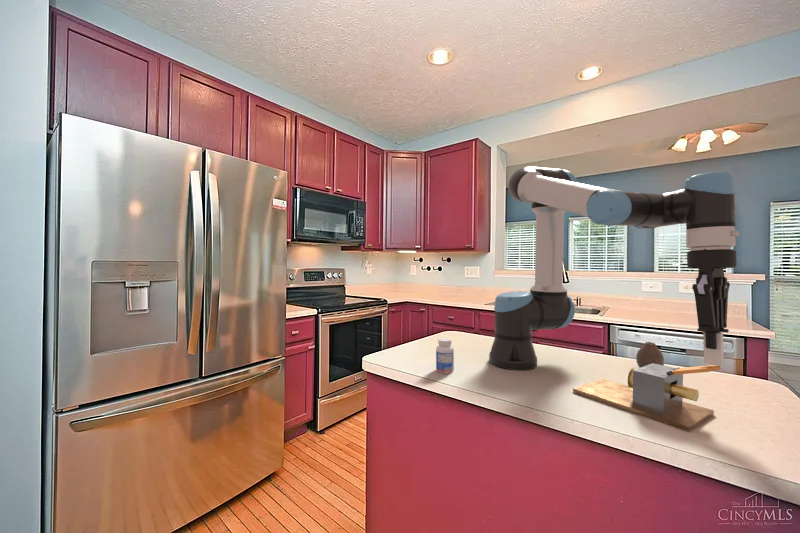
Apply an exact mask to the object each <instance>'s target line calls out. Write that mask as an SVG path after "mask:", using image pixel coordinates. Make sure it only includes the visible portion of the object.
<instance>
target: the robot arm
mask: <svg viewBox="0 0 800 533" xmlns="http://www.w3.org/2000/svg"><path fill="white" fill-rule="evenodd" d="M684 181H685V182H684V186H683V188H682V189H678V190H674V191H671V192H670V191H668V192H663V193H652V192H651V193H650V192H649V193H648V192H638V191H637V192H634V191H626V190H625V191H623V190H617V189H612V188H606V187H601V186H595V185H590V184H587V183H586V184H585V183H580V182H578V180H577V178H576V177H575V175H574V174H573V173H572V172H571V171H569V170H567V169H562V168H559V167H558V168H552V167H539V166H524V167H520V168H519V169H517V170H515V171H514V172H513V173H512V175H511V176H510V177H509V179H508V184H507V189H508V192H509V195H510V196H511V197H512V198H513V199H514V200H515V201H518V202H521V203H526V204H531V211H532V212H533V213H534V214H535V220H536V221H535V256H534V257H535V258H534V260H535V261H534V263H535V265H534V266H535V267H534V269H535V270H534V271H535V272H534V285H533V286H532V287H530V289H529V291H525V290H519V291H507V292H502V293H499V294H498V295H497V296H496V297H495V301H494V308H493V309H494V340H493V343H492V345H491V348H490V351H489V354H488V356H489V357H488V362H489V363H490V364H492V365H493V366H495V367H498V368H502V369H506V370H516V371H519V370H520V371H524V370H525V371H527V370H532V369H535V368H537V367H538V357H537V355H536V351H535V347H534V344H533V341H532V340H533V338H532V336H533V331H541V330H557V329H563V328H565V327H567V326H569V324H570V323H571V322H572V321H573V320H574V317H575V313H576V308H575V306H576V305H575V303H574V302H573V299H572V297H571V296H569V295H568V289H567V288H565V287H564V285H563V274H564V272H563V265H564V223H565V219H564V218H565V216H564V215H565V213H566V212H569V213H572V214H576V215H579V216H582V217H586V218H589V219H590V221H591V222H592V223H594V224H597V225H601V226H608V227H609V226H611V227H612V226H630V227H631V226H632V227H635V228H636V229H642V230H643V229H651V230H652V229H656V228H659V227H667V226H668V227H669V226H675V225H681V224H682V225H684V224H685V226H686V227H685V228H686V230H685V234H686V235H685V237H686V240H685V241H686V248H687V249H689V251H687V253H686V264H687V265H686V266H687V268H688V269H698V272H697V273H698V274H697V277H696V278H695V283H692V285H691V286H692V290H693V293H694V299H695V307H696V317H697V324H698V328H697V332H699V333H701V332H702V337H703V340H702V342H703V363H704V364H707V365H718V366H720V367H723V366H724V365H725V360H724V359H725V358H724V356H725V355H724V333H729V331H730V330H729V328H727V326H728V325H727V323H728V305H729V304H728V301H729V291H730V285H731V284H730V282H729V281H728V278H727V277H725V272H724V269H735V268H736V267H737V265H738V264H737V261H738V260H737V250H735V249H732V247H735V246H736V240H737V239H736V237H738V236H739V235H740V232H739V230H736V227H735V226H736V221H735V202H736V201H735V195H736V193H737V192H735V185H734V184H735V183H734V176H733V175H732V173H730V172H727V171H711V172H710V171H709V172H703V173H698V174H695V175H694V174H693V175H692V176H690V177H689V176H688V177H687V178H686V179H685V180H684Z"/></svg>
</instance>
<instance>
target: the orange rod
mask: <svg viewBox="0 0 800 533" xmlns="http://www.w3.org/2000/svg"><path fill="white" fill-rule="evenodd" d="M678 368H679V369H677V370H675V371H672V372H673V375H677V374H683V375H687V374H700V373H710V372H713V371H714V372H716V371H720V370H722V368H721V366H718V365H712V364H707V365H699V366H690V367H689V366H687V367H678Z"/></svg>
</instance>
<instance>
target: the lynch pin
mask: <svg viewBox="0 0 800 533" xmlns="http://www.w3.org/2000/svg"><path fill="white" fill-rule="evenodd" d="M635 369H638V368H636V367H632V368H630V371H629V372H628V375H627V386H629V388H630V389H632V390H633V370H635ZM670 394H671V395H675V396H679V397H682V398H683V399H687V400H689V401H693V402H697V401H699V394H700V392H699V389H695V388H692V387H688V386H684V385H683V386H680V385H676V384H672V383H670Z"/></svg>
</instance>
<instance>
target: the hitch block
mask: <svg viewBox="0 0 800 533" xmlns="http://www.w3.org/2000/svg"><path fill="white" fill-rule="evenodd" d="M679 368H680V367H673V366H667V365H664V366H663V365H659V364H654V363H652V364H649V365H646V366H644V367H641V368H639V367H638V368H637V369H635V370H633V390H632V389H630V388H629V386H628V384H627V385H626V384H623V383H618V382H616V381H612V380H609V379H606V378H601V377H600V378H599V379H596V380H594V381H591V382H587V383H585V384H582V385H579V386H576V387H574V388H572V392H573V393H574V394H577V395H580V396H583V397H585V398H589V399H591V400H595V401H597V402H600V403H603V404H606V405H609V406H612V407H614V408H618V409H621V410H623V411H626V412H628V413H629V412H630V413H632V414H636V415H638V416H640V417H644V418H647V419H650V420H652V421H656V422H658V423H661V424H664V425H667V426H670V427H673V428H676V429H678V430H680V431H681V430H682V431H685V432H688V433H690V432H692V430H694V429H695V428H697V427H699V426H700V425H701V424H703V423H704V422H706V421H707V420H708V419H710V418H712V417H713V416H714V415H715V410H713V409H710V408H706V407H702V406H700V405H696V404H692V403H689V402H685V401H684V400H683V399H684V398H682V397H679V396H675V395H671V394H670V383H672V384H676V385H680V386H684V374H677V375H673V372H672V371H675V370H677V369H679Z"/></svg>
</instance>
